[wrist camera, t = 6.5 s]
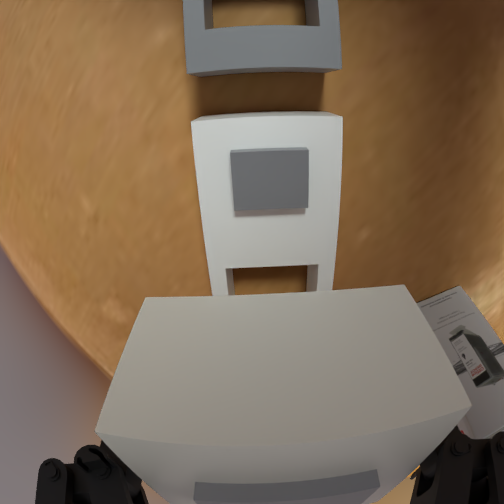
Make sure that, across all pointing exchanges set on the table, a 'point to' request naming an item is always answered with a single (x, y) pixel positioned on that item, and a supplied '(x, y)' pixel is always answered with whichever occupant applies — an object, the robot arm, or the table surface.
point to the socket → (269, 192)
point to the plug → (280, 396)
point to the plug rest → (262, 42)
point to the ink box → (470, 358)
